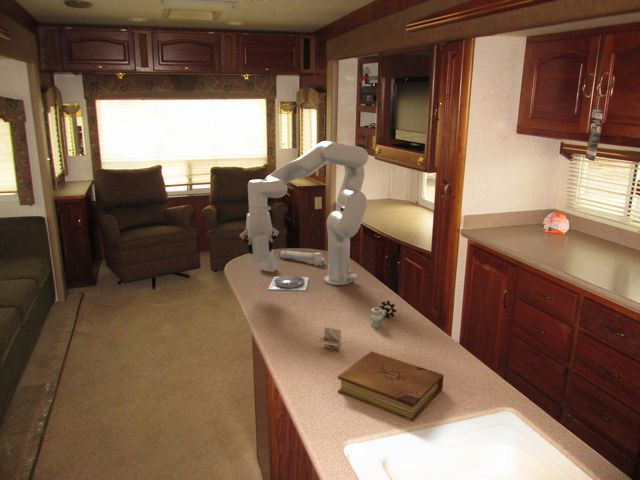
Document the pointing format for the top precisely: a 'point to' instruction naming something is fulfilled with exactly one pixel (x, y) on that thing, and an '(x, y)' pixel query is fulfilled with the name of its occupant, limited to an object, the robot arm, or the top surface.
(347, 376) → the diary
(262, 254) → the can
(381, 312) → the valve
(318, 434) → the top surface
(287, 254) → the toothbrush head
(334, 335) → the architectural model
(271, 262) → the tea bag
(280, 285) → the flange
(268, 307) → the top surface
